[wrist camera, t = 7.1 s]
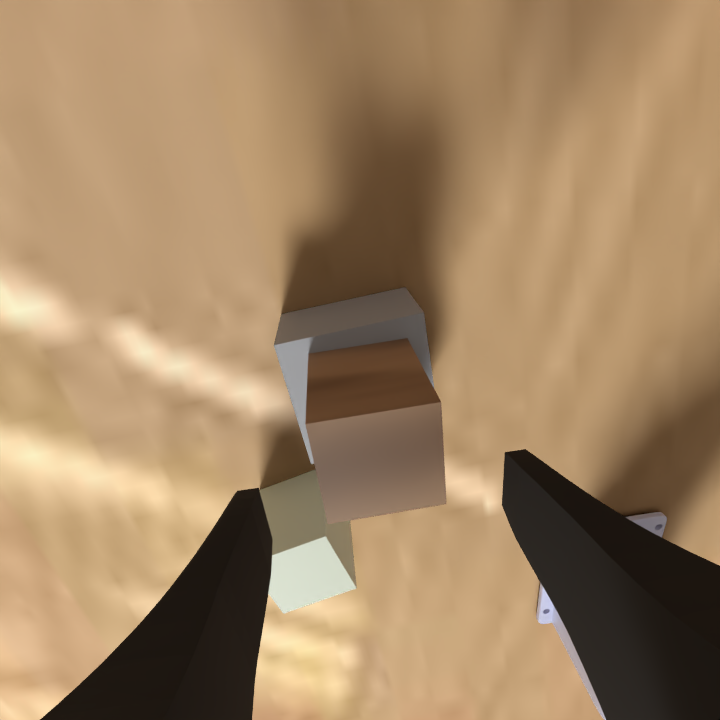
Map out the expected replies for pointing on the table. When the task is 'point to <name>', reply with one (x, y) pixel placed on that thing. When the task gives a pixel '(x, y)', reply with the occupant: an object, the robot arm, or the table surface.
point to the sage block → (306, 545)
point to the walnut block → (374, 431)
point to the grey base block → (346, 336)
